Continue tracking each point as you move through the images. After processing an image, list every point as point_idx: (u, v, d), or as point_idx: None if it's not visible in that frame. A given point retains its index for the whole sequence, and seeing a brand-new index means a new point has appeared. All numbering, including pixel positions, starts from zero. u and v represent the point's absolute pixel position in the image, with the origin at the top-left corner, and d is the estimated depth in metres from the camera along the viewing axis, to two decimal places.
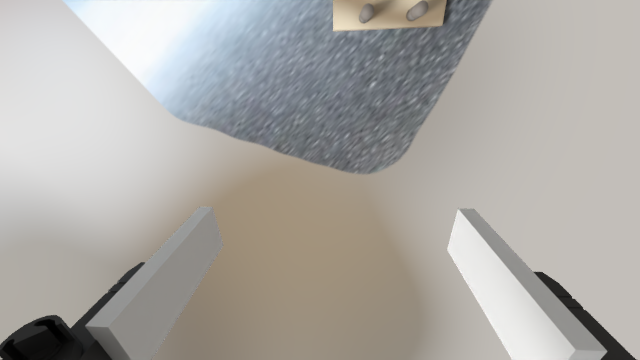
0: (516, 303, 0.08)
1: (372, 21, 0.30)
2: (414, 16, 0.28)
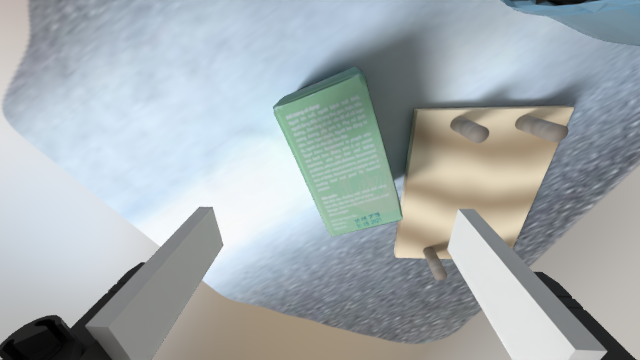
0: (517, 303, 0.08)
1: (436, 254, 0.30)
2: None
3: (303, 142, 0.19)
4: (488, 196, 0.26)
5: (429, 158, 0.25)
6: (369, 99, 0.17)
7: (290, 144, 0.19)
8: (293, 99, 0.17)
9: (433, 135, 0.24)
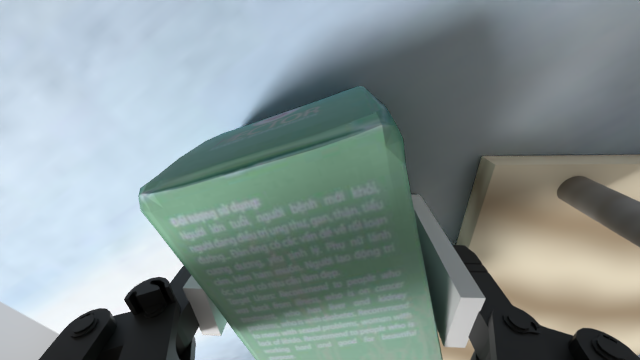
0: (434, 269, 0.09)
1: None
2: None
3: (226, 277, 0.07)
4: (601, 302, 0.15)
5: (505, 244, 0.13)
6: (407, 195, 0.06)
7: (194, 276, 0.07)
8: (187, 180, 0.06)
9: (519, 208, 0.12)
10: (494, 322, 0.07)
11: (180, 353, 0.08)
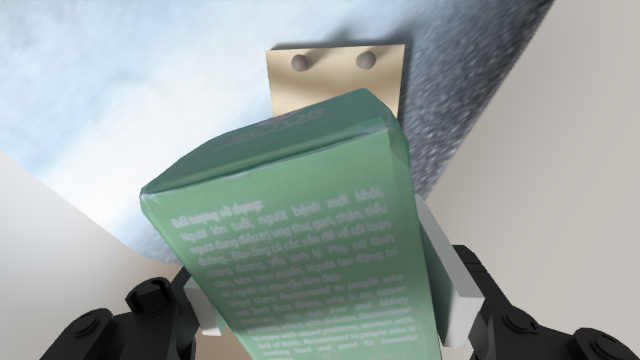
0: (434, 269, 0.09)
1: None
2: None
3: (227, 279, 0.07)
4: None
5: (288, 100, 0.26)
6: (411, 199, 0.06)
7: (195, 277, 0.07)
8: (189, 181, 0.06)
9: (285, 76, 0.25)
10: (493, 322, 0.07)
11: (180, 353, 0.08)
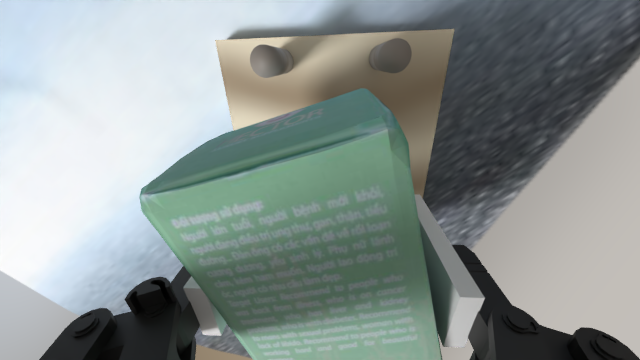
0: (434, 269, 0.09)
1: None
2: None
3: (227, 279, 0.07)
4: None
5: (258, 121, 0.16)
6: (411, 199, 0.06)
7: (195, 277, 0.07)
8: (189, 181, 0.06)
9: (252, 82, 0.15)
10: (493, 322, 0.07)
11: (181, 353, 0.08)
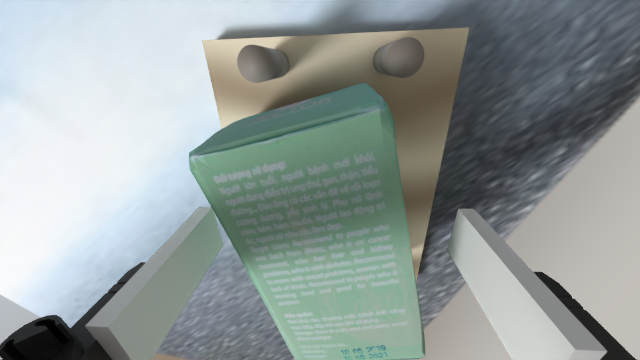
0: (516, 303, 0.08)
1: None
2: None
3: (251, 227, 0.09)
4: None
5: None
6: (396, 163, 0.08)
7: (225, 227, 0.09)
8: (230, 145, 0.08)
9: (243, 87, 0.14)
10: None
11: None
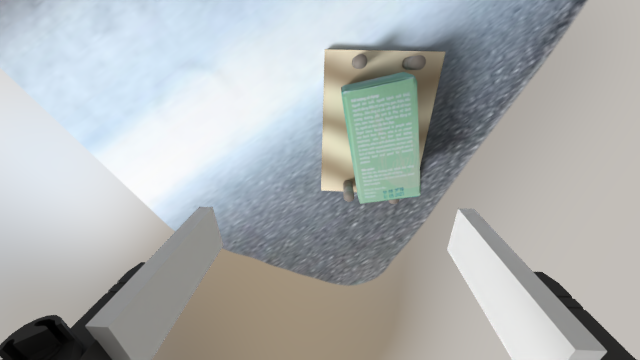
0: (516, 304, 0.08)
1: (354, 187, 0.35)
2: None
3: (359, 122, 0.24)
4: None
5: (338, 93, 0.30)
6: (416, 97, 0.23)
7: (348, 122, 0.24)
8: (360, 88, 0.23)
9: (339, 72, 0.29)
10: None
11: None
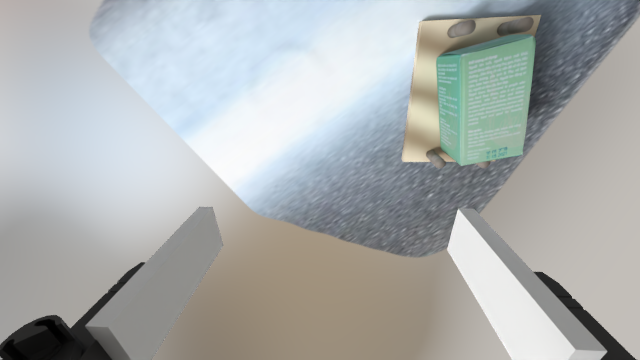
0: (516, 304, 0.08)
1: None
2: (476, 163, 0.34)
3: (474, 83, 0.26)
4: None
5: (431, 64, 0.31)
6: (533, 55, 0.24)
7: (462, 84, 0.26)
8: (478, 50, 0.24)
9: (434, 42, 0.30)
10: None
11: None
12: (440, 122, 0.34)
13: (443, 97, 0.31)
